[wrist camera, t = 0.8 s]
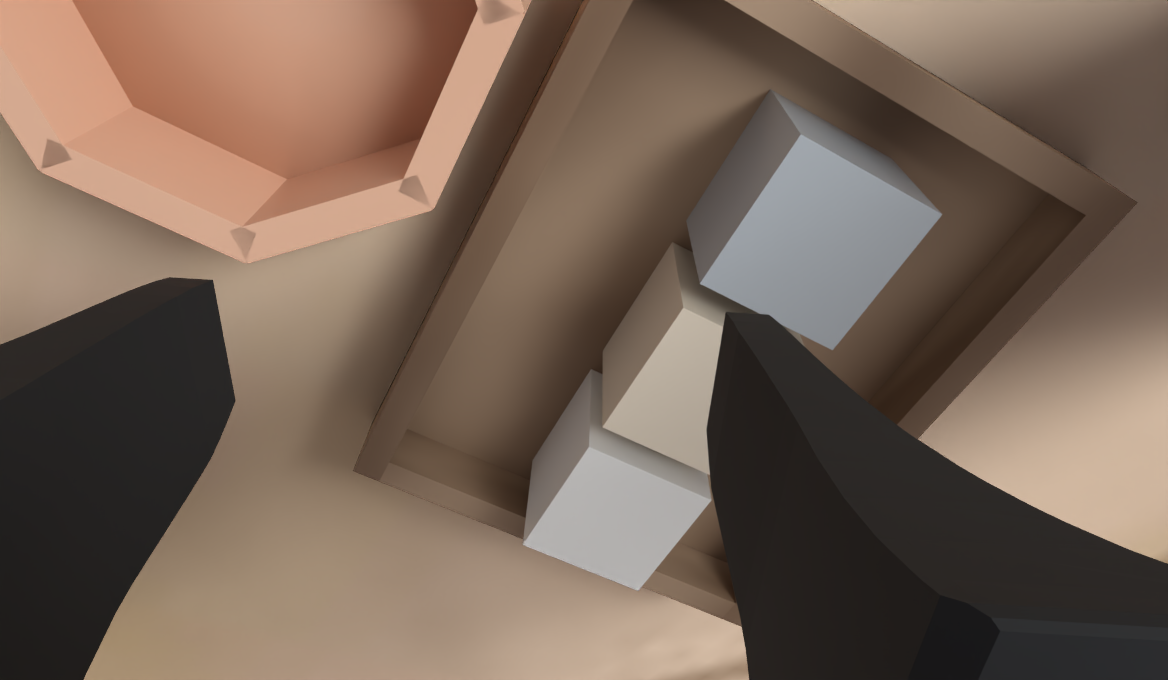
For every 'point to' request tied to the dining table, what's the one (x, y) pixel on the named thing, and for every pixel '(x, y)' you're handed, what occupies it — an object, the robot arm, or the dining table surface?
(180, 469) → the robot arm
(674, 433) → the beige block
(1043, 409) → the dining table surface
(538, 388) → the walnut tray
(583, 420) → the white block
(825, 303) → the blue-grey block
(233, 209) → the terracotta bowl
